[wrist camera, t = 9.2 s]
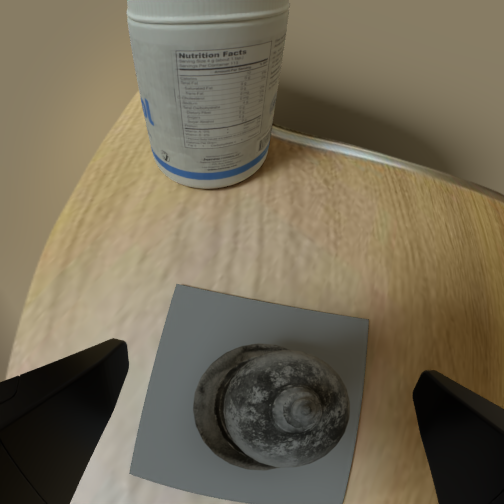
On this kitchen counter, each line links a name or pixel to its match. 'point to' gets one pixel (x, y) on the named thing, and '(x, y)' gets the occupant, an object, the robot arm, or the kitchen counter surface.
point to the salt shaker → (270, 407)
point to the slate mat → (197, 362)
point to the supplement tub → (208, 84)
